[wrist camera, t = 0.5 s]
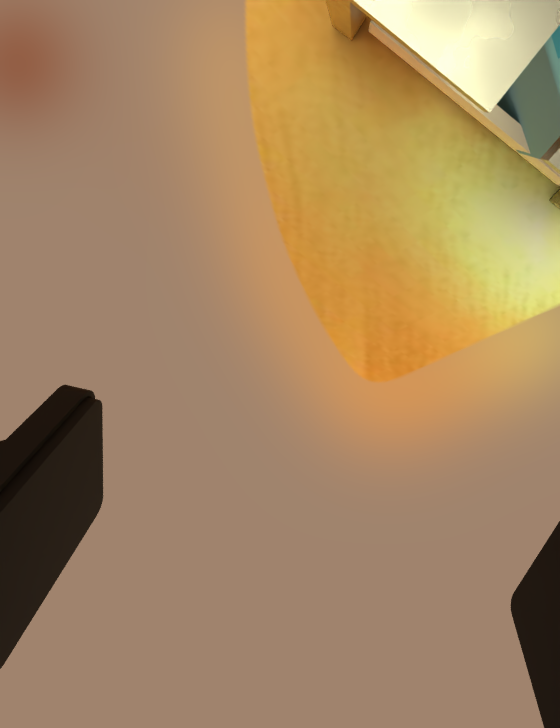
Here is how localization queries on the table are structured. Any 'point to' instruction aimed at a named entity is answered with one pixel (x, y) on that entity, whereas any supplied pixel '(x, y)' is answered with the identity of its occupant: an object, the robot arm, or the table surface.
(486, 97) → the tunnel
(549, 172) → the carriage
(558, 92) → the data package
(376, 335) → the table surface
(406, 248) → the table surface
